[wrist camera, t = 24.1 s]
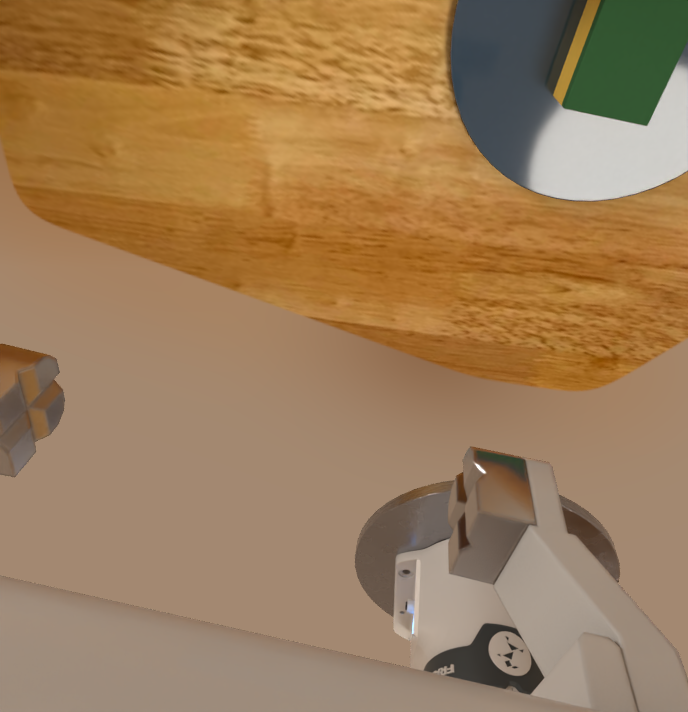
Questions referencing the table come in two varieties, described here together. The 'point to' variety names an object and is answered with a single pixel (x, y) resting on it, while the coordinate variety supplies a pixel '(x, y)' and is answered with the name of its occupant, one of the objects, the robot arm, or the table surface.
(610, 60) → the sponge
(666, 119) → the plate
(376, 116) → the table surface
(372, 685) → the robot arm
